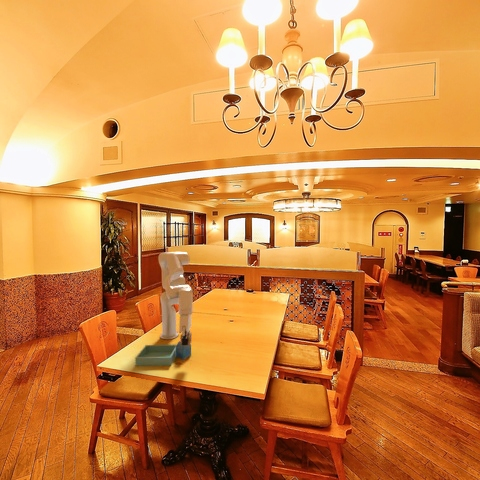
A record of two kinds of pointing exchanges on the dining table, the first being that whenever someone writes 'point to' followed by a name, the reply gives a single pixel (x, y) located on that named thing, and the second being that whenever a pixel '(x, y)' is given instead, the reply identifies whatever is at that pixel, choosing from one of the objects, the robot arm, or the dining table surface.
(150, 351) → the tote
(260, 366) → the dining table surface
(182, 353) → the perfume bottle
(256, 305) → the dining table surface
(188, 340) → the walnut cube
